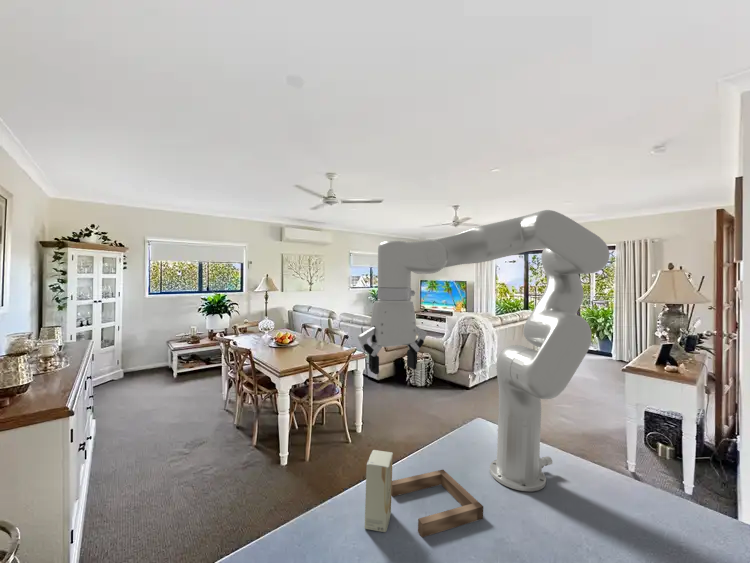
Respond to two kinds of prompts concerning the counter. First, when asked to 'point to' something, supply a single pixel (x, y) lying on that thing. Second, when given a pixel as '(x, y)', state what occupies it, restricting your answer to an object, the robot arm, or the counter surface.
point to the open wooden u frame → (448, 518)
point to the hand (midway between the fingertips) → (393, 370)
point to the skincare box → (378, 490)
